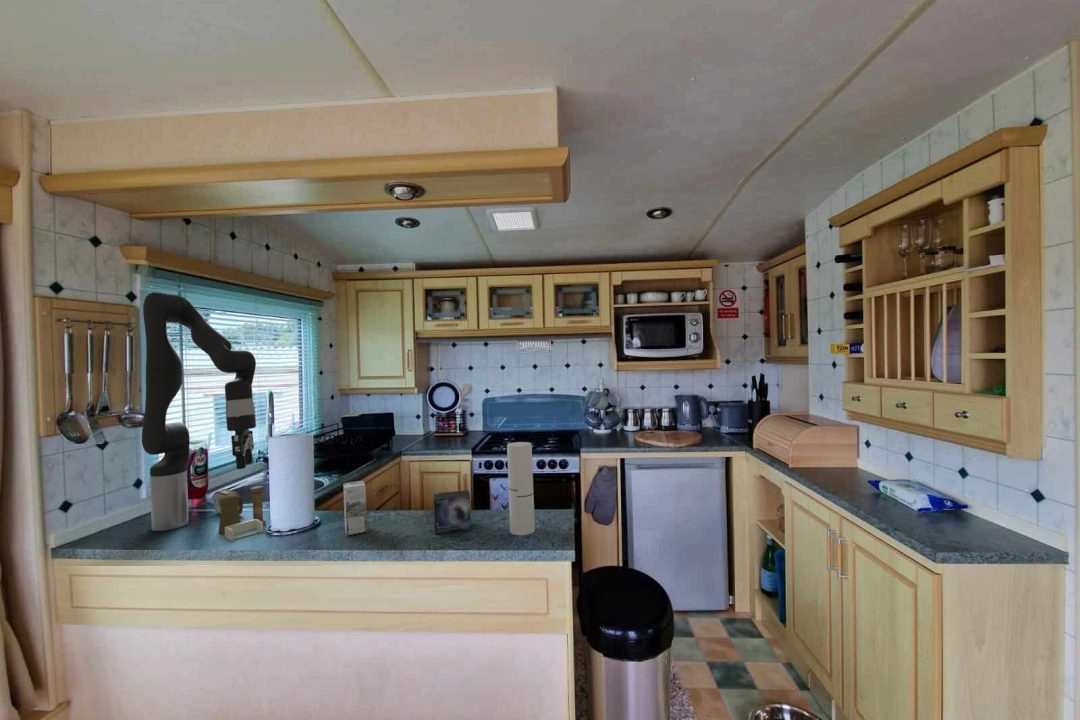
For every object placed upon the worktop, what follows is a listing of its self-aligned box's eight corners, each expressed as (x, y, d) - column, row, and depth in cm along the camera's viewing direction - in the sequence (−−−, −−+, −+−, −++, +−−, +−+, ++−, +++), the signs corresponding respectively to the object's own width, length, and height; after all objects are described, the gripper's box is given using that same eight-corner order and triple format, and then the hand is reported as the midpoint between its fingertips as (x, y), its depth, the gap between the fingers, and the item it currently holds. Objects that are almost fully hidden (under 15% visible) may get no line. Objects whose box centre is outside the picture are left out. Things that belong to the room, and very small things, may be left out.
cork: (229, 534, 137) (228, 498, 137) (213, 533, 138) (212, 497, 138) (246, 527, 143) (245, 492, 143) (230, 526, 144) (229, 492, 144)
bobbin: (249, 526, 144) (247, 488, 144) (263, 522, 147) (261, 485, 147) (253, 528, 141) (252, 490, 141) (267, 524, 144) (266, 487, 144)
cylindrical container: (517, 524, 135) (514, 441, 136) (539, 527, 132) (535, 442, 132) (505, 533, 129) (502, 445, 129) (527, 536, 126) (524, 447, 126)
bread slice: (244, 516, 154) (243, 491, 154) (234, 519, 151) (233, 494, 151) (221, 510, 161) (220, 487, 161) (211, 513, 158) (210, 489, 158)
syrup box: (364, 526, 139) (363, 479, 139) (367, 533, 134) (365, 483, 134) (344, 530, 136) (343, 482, 136) (346, 537, 131) (344, 487, 131)
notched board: (224, 536, 135) (224, 526, 135) (256, 528, 141) (256, 518, 141) (230, 541, 131) (230, 530, 131) (263, 531, 138) (263, 522, 138)
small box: (434, 535, 129) (433, 499, 130) (434, 527, 136) (433, 493, 136) (471, 531, 132) (470, 495, 132) (469, 523, 138) (468, 489, 138)
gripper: (233, 414, 145) (237, 464, 145) (219, 417, 132) (223, 472, 132) (259, 411, 148) (264, 460, 148) (248, 414, 135) (253, 468, 134)
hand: (245, 466), depth 140 cm, fingers open, 8 cm apart
